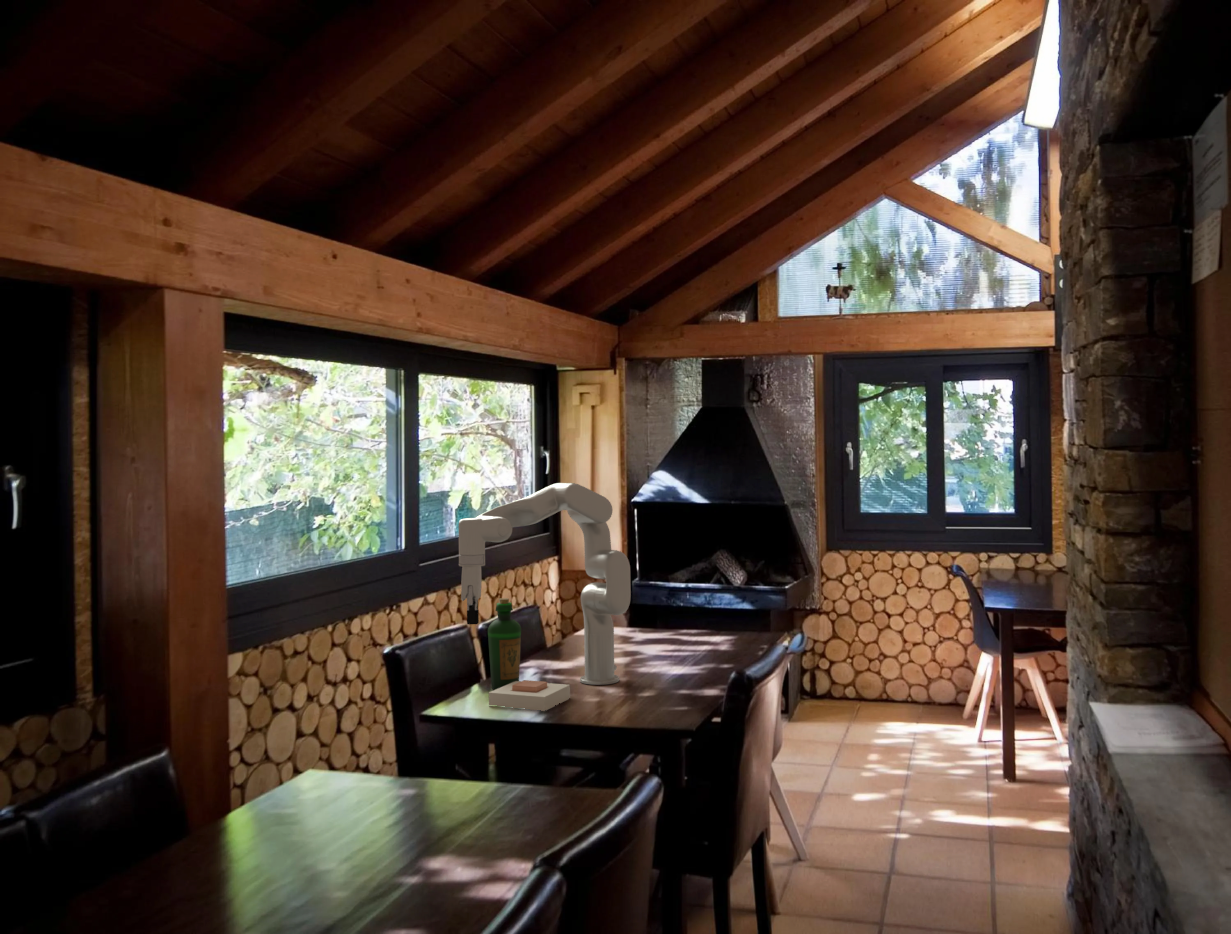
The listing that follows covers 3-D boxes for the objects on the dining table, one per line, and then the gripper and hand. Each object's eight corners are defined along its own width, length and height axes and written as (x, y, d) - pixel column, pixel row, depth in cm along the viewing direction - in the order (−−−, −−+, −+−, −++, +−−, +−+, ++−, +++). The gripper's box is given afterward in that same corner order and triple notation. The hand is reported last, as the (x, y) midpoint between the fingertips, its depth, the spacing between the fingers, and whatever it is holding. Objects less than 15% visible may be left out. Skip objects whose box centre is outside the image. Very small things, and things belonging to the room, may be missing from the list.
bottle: (516, 692, 313) (515, 601, 313) (483, 691, 315) (482, 600, 315) (526, 685, 324) (525, 596, 324) (494, 684, 326) (493, 596, 326)
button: (524, 693, 305) (524, 680, 305) (547, 695, 302) (547, 681, 302) (512, 698, 298) (512, 685, 298) (535, 700, 295) (535, 687, 295)
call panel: (516, 694, 311) (516, 680, 311) (570, 698, 304) (569, 684, 304) (488, 706, 295) (488, 692, 295) (544, 711, 289) (544, 696, 289)
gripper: (462, 558, 304) (463, 620, 304) (455, 563, 289) (456, 628, 289) (487, 558, 304) (488, 619, 304) (482, 562, 289) (482, 627, 289)
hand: (472, 623), depth 296 cm, fingers closed
